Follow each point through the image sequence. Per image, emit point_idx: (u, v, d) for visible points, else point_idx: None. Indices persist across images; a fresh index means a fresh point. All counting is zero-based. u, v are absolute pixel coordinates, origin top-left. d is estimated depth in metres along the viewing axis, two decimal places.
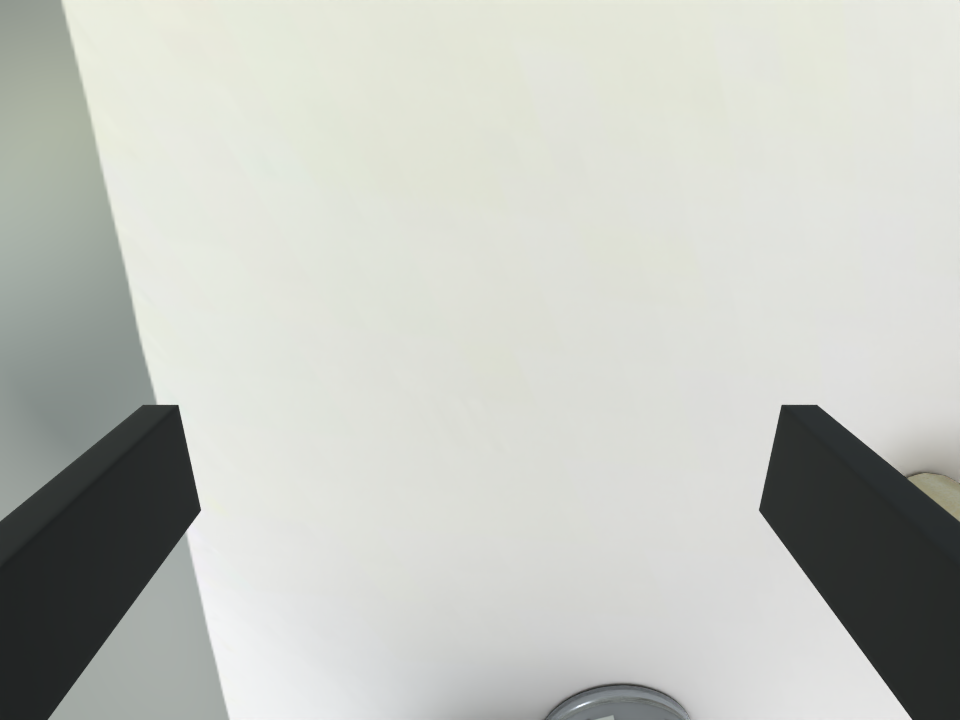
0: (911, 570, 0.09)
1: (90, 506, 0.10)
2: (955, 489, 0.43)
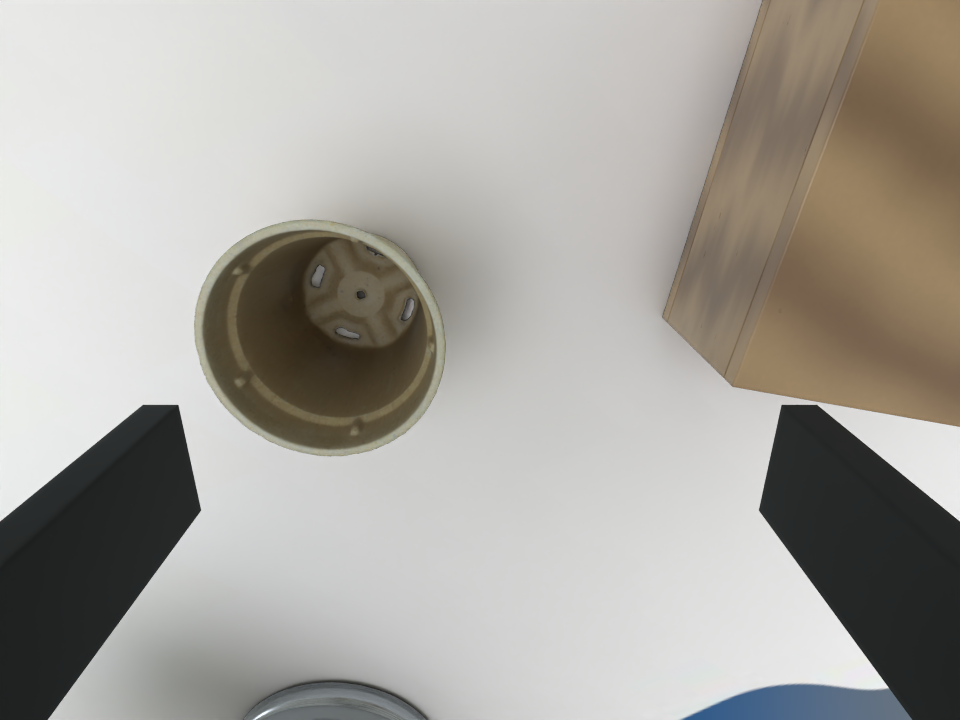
0: (911, 570, 0.09)
1: (90, 506, 0.10)
2: (303, 247, 0.26)
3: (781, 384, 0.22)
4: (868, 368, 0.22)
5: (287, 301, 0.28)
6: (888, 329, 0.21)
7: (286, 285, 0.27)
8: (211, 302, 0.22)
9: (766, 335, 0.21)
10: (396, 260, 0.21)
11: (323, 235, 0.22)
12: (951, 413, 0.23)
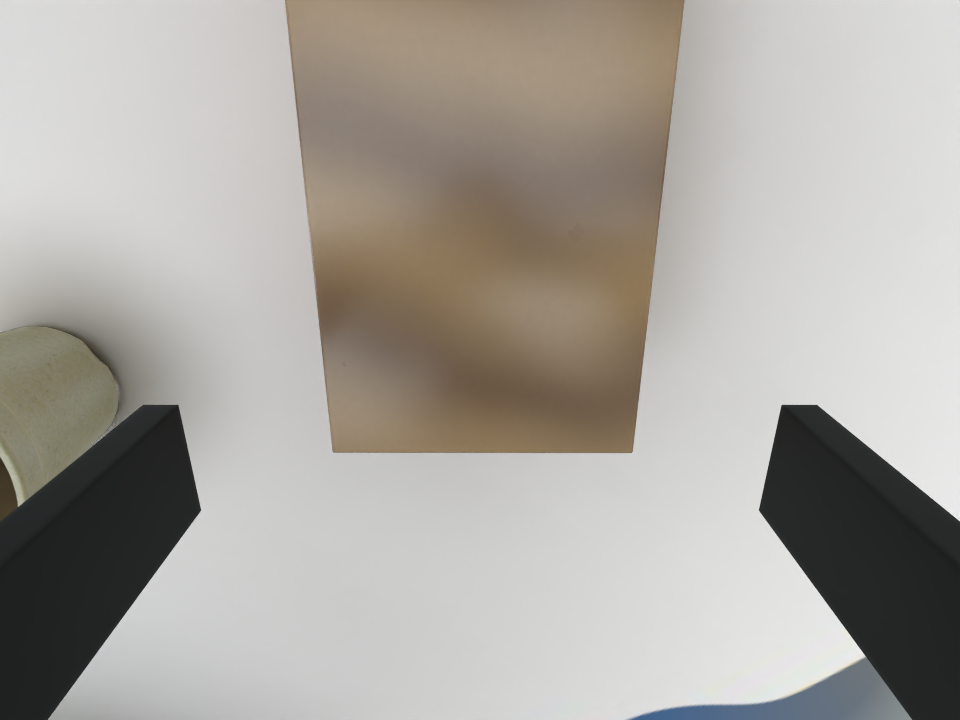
0: (911, 570, 0.09)
1: (90, 506, 0.10)
2: None
3: (385, 441, 0.19)
4: (476, 408, 0.19)
5: None
6: (478, 362, 0.18)
7: None
8: None
9: (342, 392, 0.19)
10: None
11: None
12: (597, 440, 0.19)
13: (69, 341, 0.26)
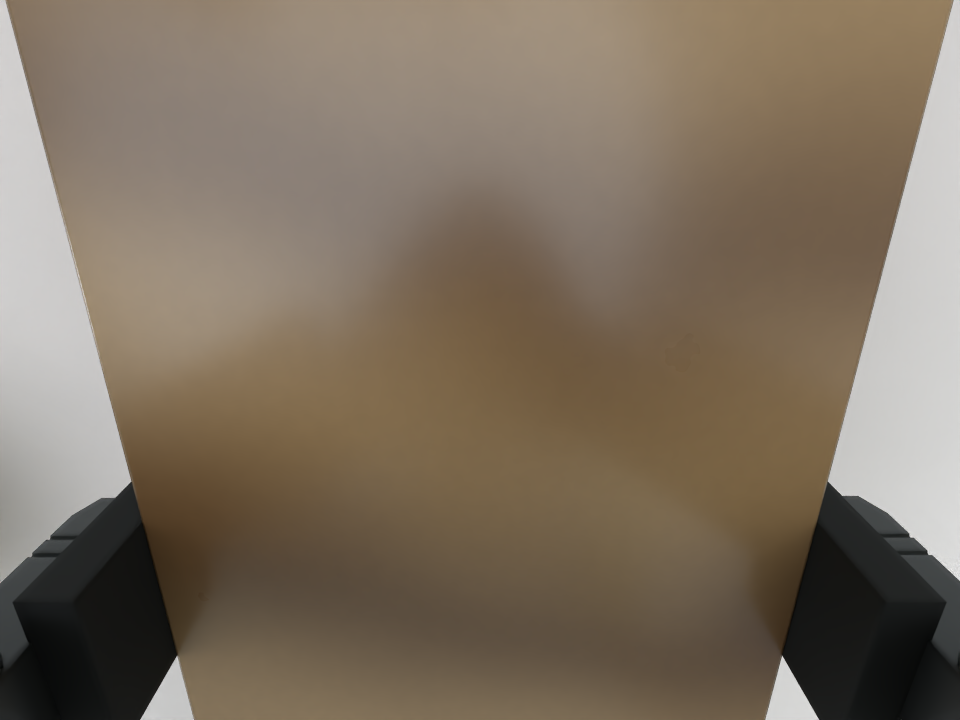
0: None
1: None
2: None
3: (295, 719, 0.10)
4: (466, 667, 0.10)
5: None
6: (469, 593, 0.09)
7: None
8: None
9: (204, 643, 0.09)
10: None
11: None
12: (696, 717, 0.10)
13: None
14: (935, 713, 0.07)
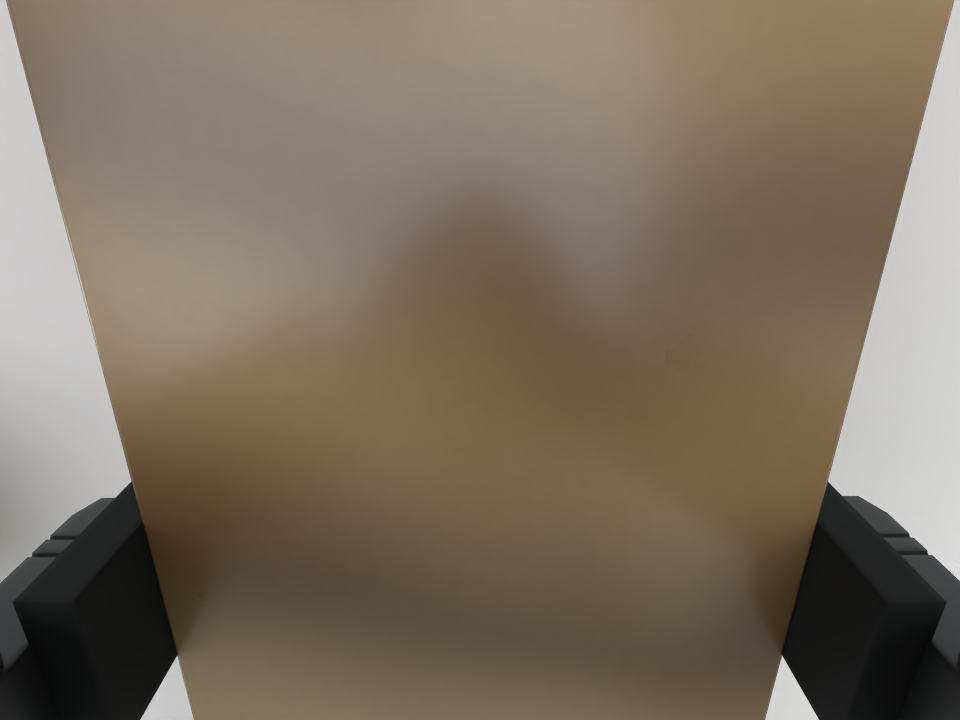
0: None
1: None
2: None
3: (296, 719, 0.10)
4: (466, 667, 0.10)
5: None
6: (470, 593, 0.09)
7: None
8: None
9: (204, 644, 0.09)
10: None
11: None
12: (696, 717, 0.10)
13: None
14: (935, 713, 0.07)
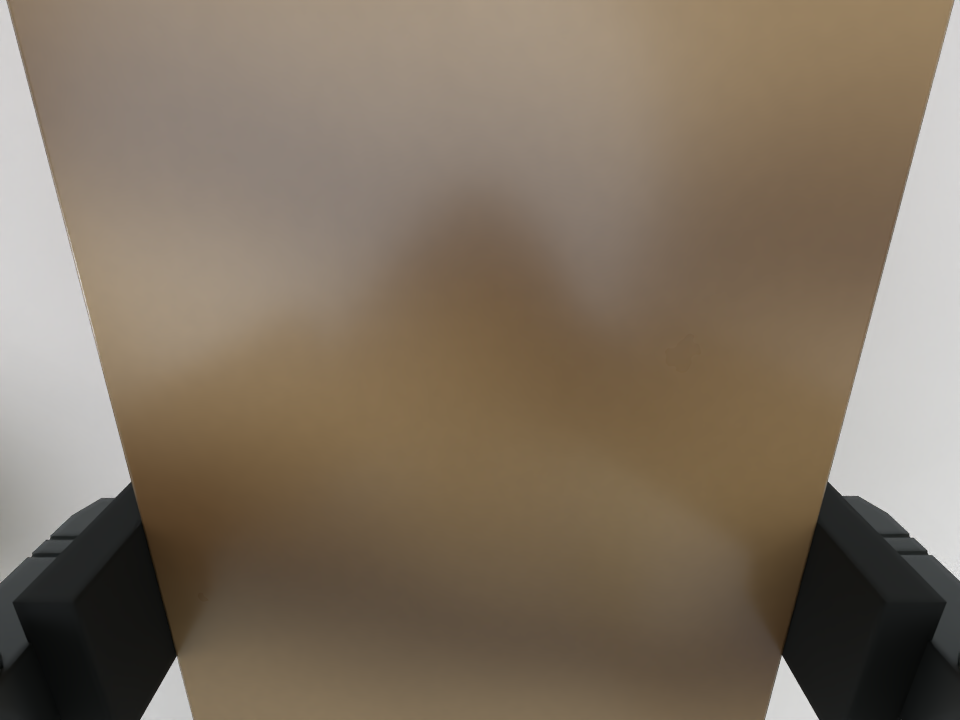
0: None
1: None
2: None
3: (295, 719, 0.10)
4: (466, 668, 0.10)
5: None
6: (470, 593, 0.09)
7: None
8: None
9: (204, 644, 0.09)
10: None
11: None
12: (696, 717, 0.10)
13: None
14: (935, 713, 0.07)
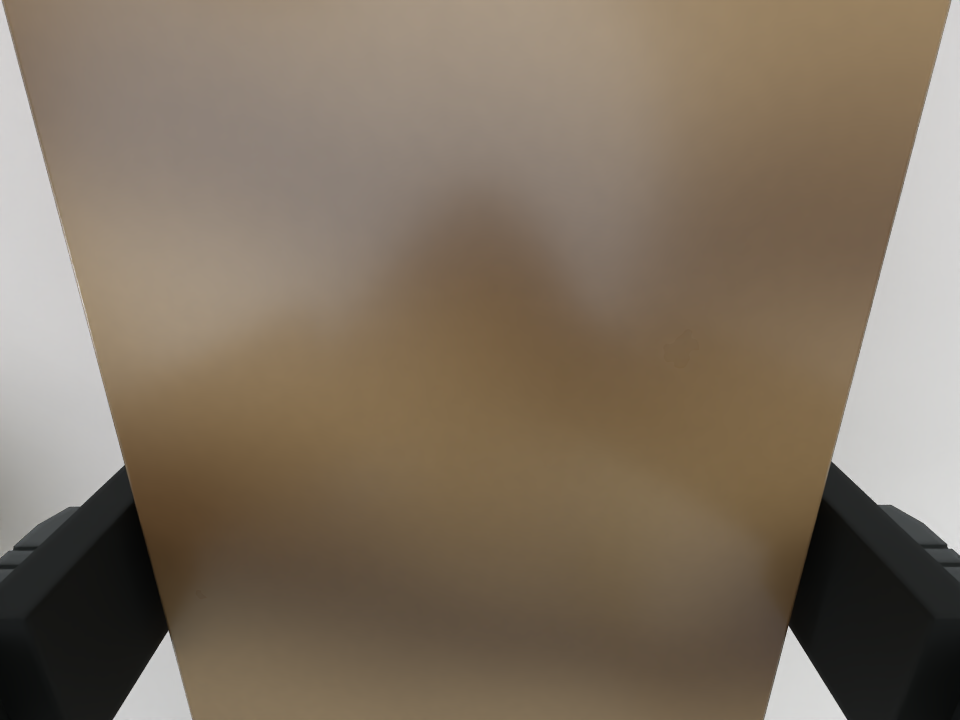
0: (819, 538, 0.09)
1: None
2: None
3: (294, 717, 0.10)
4: (465, 665, 0.10)
5: None
6: (468, 591, 0.09)
7: None
8: None
9: (202, 641, 0.09)
10: None
11: None
12: (695, 714, 0.10)
13: None
14: None
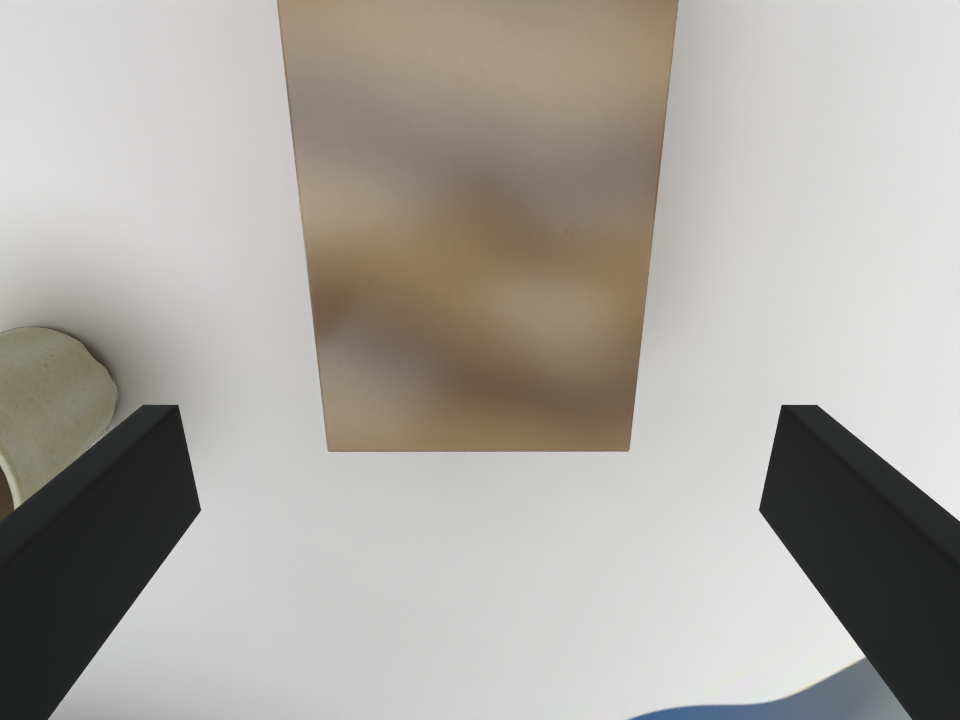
0: (911, 570, 0.09)
1: (90, 506, 0.10)
2: None
3: (380, 440, 0.19)
4: (471, 406, 0.19)
5: None
6: (473, 360, 0.18)
7: None
8: None
9: (337, 391, 0.18)
10: None
11: None
12: (593, 438, 0.19)
13: (66, 341, 0.26)
14: None
